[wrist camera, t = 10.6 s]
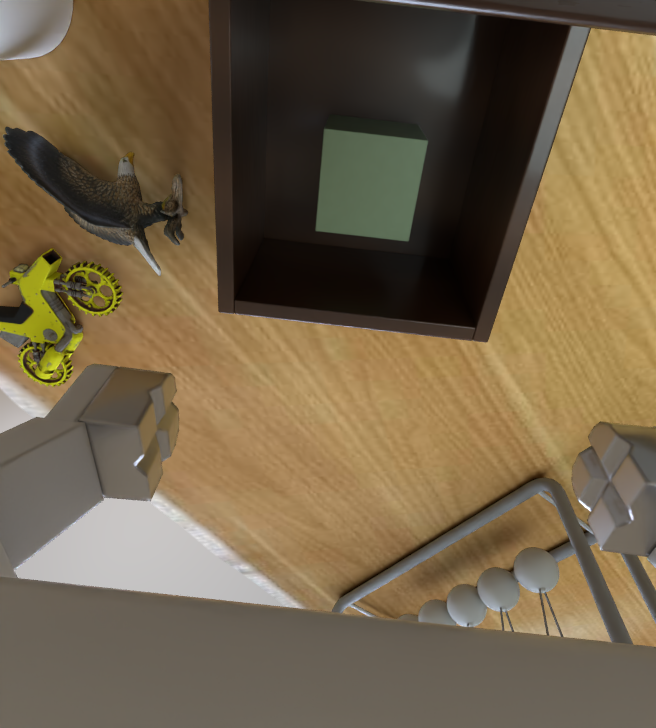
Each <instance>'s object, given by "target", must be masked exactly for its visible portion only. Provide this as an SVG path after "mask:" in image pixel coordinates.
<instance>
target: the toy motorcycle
mask: <svg viewBox="0 0 656 728" xmlns="http://www.w3.org/2000/svg"><path fill="white" fill-rule="evenodd" d="M61 261H62V257H61V256H60V255H59V254H58V253H57V252H56V250H55V249H53V248H51V249H50V250H48V251H47V252H45V253H43V254H42V255H41V256H40V257H39V258H38V259H37V260H36V261H35V262H34V263H33V264H32V265H31V267H29V266H28V265H27V264H24V265H20V264H19V266H17V267H16V268H14V269H13V270H11V271H10V279H9V281H8V282H7V283H5V284H4V285H2V287H3V288H4V287H6V286H7V285H9V284H10V283H12V284H15V285H18V287H19V290H20V293H21V296H22V298H23V302H22V303H21V305H20V307H5V306H0V330H1V332H0V337H1V338H2V339H4V340H6V341H7V342H9V343H11V344H12V345H14V346H16V347H17V348H19V347H20V346H21V345H22V344H23V343H25V342H26V341H27V340H28V339H29V338H30V339H31V342H30V343H27V344H26V345H25V346H24V347H23V348H22V349H21V350H20V351H19V352H20V354H19V355H18V357H20V359H19V360H18V362H21V365H20V367H22V368H23V370H24V371H23V372H24V373H25V372H26V373H27V374H28V375H29V376H28V377H31V378H32V379H34V382H35V381H37V382H40V384H46V386H49V385H52V387H54V386H55V385H56V384H57V385H58V386H60V385H61V384H64V383H65V382H66V381H67V380H68V379H69V378H70V377H71V374H72V373H73V371H72V370H71V369H72V368H73V366H72V365H71V362H72V360H69V359H68V358H70V357H71V355H72V354H73V352H74V351H75V349H76V348H77V346H78V345H79V343H80V341H81V340H82V338H83V333H82V330H83V327H82V325H77V326H74V324H75V322H76V320H75V318H74V316H73V315H72V313H71V312H70V310H69V309H68V307H67V306H66V304H65V303H64V301H63V300H62V299H61V297H60V296H59V294H58V293H57V292H64V293H67V295H68V298H67V299H68V300H70V299H71V301H72V302H73V304H72V305H73V306H74V305H76V306H77V307H79V309H78V310H81V309H82V310H83V311H85V314H87V313H91V314H92V316H95V315H96V314H98V315H99V317H101V316H102V315H103V314H105V315H106V316H107V315H108V314H109V313H110V312H111V313H112V312H113V311H114V310H115V309H116V308H117V307H118V306H119V305H120V302H121V301H122V298H120V296H121V295H122V294H123V292H120V289H121V288H122V286H119V285H118V281H119V280H118V279H115V278H114V276H113V275H114V273H112V274H111V273H110V272H109V271H107V270H108V268H105V269H104V268H103V267H101V264H98V265H95V264H94V262H91V263H89V264H87V261H84V262H83V263H80V262H78V263H77V264H76V265H73V266H72V267H70V268H69V269H68V271H67V272H65V275H64V274H63V273H59V272H57V269H58V267H59V265H60V263H61ZM90 272H95V273H97V274H98V275H99V276H100V277H101V282H100V283H99V284H98V282H97V281H90V279H89V276H88V275H89V273H90ZM76 275H80V276H76ZM81 276H83V277H81ZM64 281H65V282H64ZM81 283H82V284H81ZM84 284H87V285H84ZM102 285H106V286H109V287H110V288H111V289H112V292H113V293H112V296H109V297H107V296H104V295H103V294H102V293H101V291H100V287H101V286H102ZM62 287H65V290H63V289H62ZM79 290H80V291H79ZM83 291H85V292H86V294H83ZM83 296H85V297H89V298H90V300H89V301H83V300H82V299H81V298H82V297H83ZM95 296H100V297H102V298H103V299H104V300H105V303H106V304H105V306H104V307H99V306H97V305H96V304H95V303H94V301H93V298H94V297H95ZM63 335H64V337H63V338H62V336H63ZM61 338H62V339H61ZM60 339H61V340H60ZM46 342H49V343H46ZM52 343H55V344H56V346H54V345H53V344H52ZM30 352H33V358H34V361H33V360H32V359H31V358H30V357H29V353H30ZM60 363H62V366H63V369H62V370H59V369H57V367H58V366H59V364H60ZM34 364H37V366H36V369H34V368H33V365H34ZM54 372H56V373H57V375H58V377H57V378H52V377H51V376H52V375H53V374H54Z"/></svg>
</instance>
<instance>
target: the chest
mask: <svg viewBox="0 0 656 728" xmlns="http://www.w3.org/2000/svg"><path fill="white" fill-rule="evenodd" d="M209 28H210V60H211V91H212V122H213V153H214V184H215V215H216V246H217V278H218V309H219V312H220V313H229V314H234V313H235V314H239V315H248V316H257V317H265V318H274V319H283V320H292V321H301V322H310V323H318V324H327V325H336V326H345V327H354V328H363V329H371V330H380V331H389V332H398V333H407V334H416V335H425V336H433V337H442V338H451V339H460V340H469V341H472V340H473V341H478V342H488V340H489V337H490V333H491V330H492V327H493V324H494V321H495V318H496V315H497V312H498V309H499V306H500V303H501V300H502V297H503V294H504V291H505V288H506V285H507V282H508V279H509V276H510V273H511V270H512V267H513V264H514V261H515V258H516V254H517V251H518V248H519V245H520V242H521V239H522V236H523V233H524V230H525V227H526V224H527V221H528V218H529V215H530V212H531V209H532V206H533V203H534V200H535V197H536V194H537V191H538V188H539V185H540V182H541V179H542V175H543V172H544V169H545V166H546V163H547V160H548V157H549V154H550V151H551V148H552V145H553V142H554V139H555V136H556V133H557V130H558V127H559V124H560V121H561V118H562V115H563V112H564V109H565V106H566V103H567V100H568V96H569V93H570V90H571V87H572V84H573V81H574V78H575V75H576V72H577V69H578V66H579V63H580V60H581V57H582V54H583V51H584V48H585V45H586V42H587V39H588V36H589V33H590V30H591V28H587V27H578V26H570V25H561V24H553V23H544V22H536V21H527V20H519V19H511V18H502V17H494V16H485V15H477V14H468V13H460V12H451V11H443V10H434V9H426V8H417V7H409V6H400V5H392V4H383V3H375V2H366V1H358V0H209ZM330 114H331V115H340V116H349V117H357V118H366V119H374V120H383V121H392V122H400V123H409V124H417V125H419V127H420V129H421V130H422V132H423V133H424V135H425V137H426V138H427V140H428V145H427V150H426V155H425V160H424V165H423V170H422V176H421V181H420V186H419V191H418V196H417V201H416V206H415V211H414V216H413V222H412V227H411V232H410V237H409V241H399V240H391V239H382V238H373V237H364V236H356V235H347V234H338V233H329V232H320V231H315V227H316V215H317V203H318V191H319V179H320V167H321V155H322V143H323V131H324V127H325V125H326V122H327V120H328V117H329V115H330Z"/></svg>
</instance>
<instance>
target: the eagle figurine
mask: <svg viewBox="0 0 656 728" xmlns="http://www.w3.org/2000/svg"><path fill="white" fill-rule="evenodd" d="M5 131H6V133H7V134H4V135H3V138H4V140H5V143H4V144H5V146H6V147H7V148H8V149H9V150H8V151H7V152H8V153H9V154H10V155H11V156H12V157H13V158H14V159H15V162H16V163H17V164H18V165H19V166H20V167H21V169H22V170H23V171H24V172H25V173H26V174H27V175H28V177H29V178H30V179H31V180H33V181H35V183H36V185H38V186H39V187H41V188H42V189H43V190H44V191H45V192H46V193H48V194H49V195H50V196H52V197H53V198H55V199H56V200H57V201H58V202H59V203H61V204H62V205H64V209H65V211H66V212H67V213H68V214H69V216H70V217H71V218H73V219H74V221H75V222H76V223H77V224H79V225H80V227H81V228H83V229H86V230H87V231H88V232H90V233H91V234H95V235H96V236H98V237H101V238H102V239H105V240H108V241H109V242H113V243H115V244H120V245H127V246H128V245H131V244H133V245H134V246H135V247H136V248H137V249H138V250H139V251H140V253H141V254H142V255H143V256H144V258H145V259H146V260H147V261H148V263H149V264H150V265H151V267H152V268H153V269H154V270H155V272H156V273H157V274H158V275H159V276H161V269H160V267H159V265H158V264H157V262H156V261H155V259H154V257H153V255H152V254H151V252H150V249H149V246H148V241H147V239H146V236H145V232H144V228H146V227H147V226H151V225H152V224H153V223H156V222H159V221H166V220H168V221H167V224H166V226H165V228H164V234H165V235H166V236H167V237H168V238H169V239H170V240H171V241H172V242H173V243H174V244H175V245H180V243H179V241H178V240H177V238H176V237H175V230H176V235H177V236H178V238H179V239H180V240H183V238H184V234H183V232H182V231H181V228H182V224H181V217H183V216H186V215H187V214H188V211H187V210H186V209H183V207H182V200H183V195H182V178H181V176H180V174H176V175H175V176H174V178H173V182H172V194H170V196H169V197H167V198H166V199H165V200H164V202H162V201H160V202H155V203H153V204H148V203H144V202H142V196H141V191H140V186H139V183H138V181H137V178H136V176H135V173H134V167H133V156H134V153H132V152H129V153H128V154H127V155H126V156H125V157H123V158H121V160H120V162H119V167H118V178H117V181H116V182H109V181H105V180H101V179H99V178H96V177H94V176H93V175H91V174H90V173H89V172H87V171H86V170H85V169H84V168H83V167H81V166H80V165H79V164H78V163H77V162H75V161H74V160H72V159H70V158H68V157H66V156H64V155H63V154H62V153H61V152H59V151H58V150H57V148H56V147H55V146H53V145H52V144H51V143H50V142H48V141H47V140H46V139H44V138H43V137H42V136H40V135H38V134H37V133H35V132H33V131H27V132H25V131H23V130H21V129H19V128H14V129H12V128H10V127H6V128H5Z"/></svg>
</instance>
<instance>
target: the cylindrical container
mask: <svg viewBox="0 0 656 728" xmlns="http://www.w3.org/2000/svg"><path fill="white" fill-rule="evenodd" d="M72 11H73V0H0V60H12V59H28V58H34V57H40V56H43V55H45V54H47V53H49V52H51V51H52V50H53V49H55V48H56V47H57V46H58V45H59V44H60V43H61V41H62V40H63V38H64V37H65V35H66V33H67V31H68V28H69V25H70V23H71V17H72Z"/></svg>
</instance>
